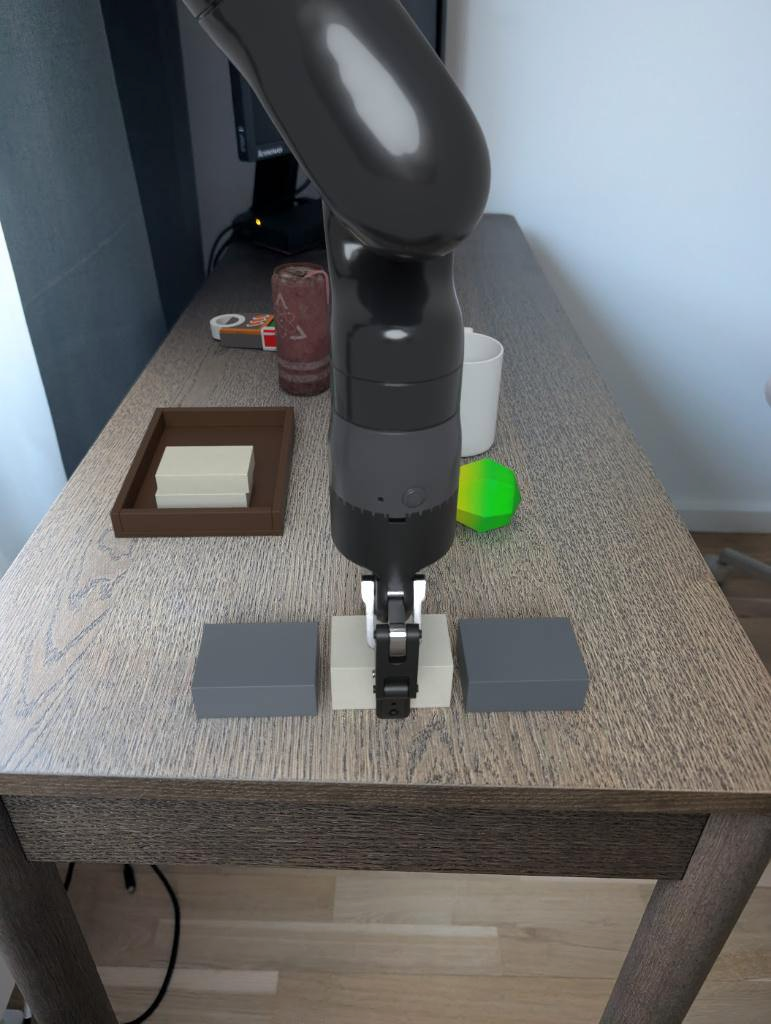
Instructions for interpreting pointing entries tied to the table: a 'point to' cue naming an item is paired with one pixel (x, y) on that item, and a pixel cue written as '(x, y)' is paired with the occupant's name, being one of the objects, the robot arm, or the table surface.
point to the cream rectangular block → (357, 663)
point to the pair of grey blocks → (479, 647)
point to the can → (301, 327)
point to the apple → (486, 495)
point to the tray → (210, 428)
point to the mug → (479, 391)
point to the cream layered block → (205, 477)
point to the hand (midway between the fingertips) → (390, 672)
